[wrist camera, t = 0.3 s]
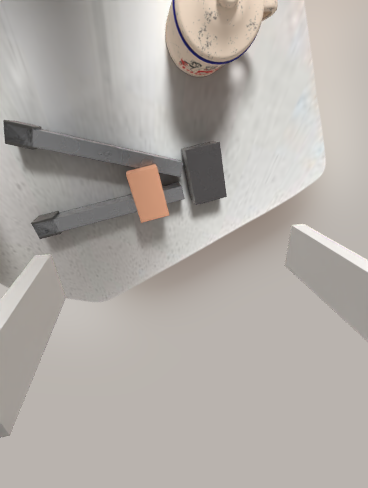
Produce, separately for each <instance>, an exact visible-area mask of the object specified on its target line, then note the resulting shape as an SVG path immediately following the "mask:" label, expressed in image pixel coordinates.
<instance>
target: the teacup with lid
mask: <svg viewBox="0 0 368 488" xmlns="http://www.w3.org/2000/svg"><path fill="white" fill-rule="evenodd" d="M276 10H277V0H172V2H171V6H170V9H169V13H168V16H167V21H166V29H165V34H166V43H167V47H168V50H169V53H170V55H171V57H172V59H173V61H174V62H175V64H176V65H177V66H178V67H179V68H180V69H181V70H182V71H183V72H185V73H187V74H189V75H191V76H195V77H203V76H207V75H210V74H212V73H214V72H215V71H217V70H218V69H219V68H221V67H222V66H223V65H225V64H226V63H229V62H232V61H234V60H236V59H237V58H239V57H240V56H241V55H243V54H244V53H245V52H246V51H247V49H248V48H249V47H250V46H251V44H252V43H253V41H254V39H255V37H256V35H257V33H258V31H259V28H260V25H261V21H263V20H265V19H267V18H268V17H270V16H271V15H273V14H274V13H275V11H276Z"/></svg>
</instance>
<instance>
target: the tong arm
mask: <svg viewBox="0 0 368 488" xmlns="http://www.w3.org/2000/svg"><path fill="white" fill-rule="evenodd" d="M4 134H5V144H9V145H14V146H19V147H24V148H29V149H37V148H42V149H46V150H51V151H56V152H61V153H66V154H71V155H76V156H81V157H86V158H90V159H95V160H100V161H105V162H110V163H115V164H120V165H125V166H130V167H134V168H141V167H145V166H149V165H153V164H156V166H157V169H158V172H159V173H164V174H169V175H174V176H178V177H181V172H182V168H183V162H182V161H180V160H176V159H172V158H168V157H163V156H159V155H154V154H150V153H145V152H141V151H136V150H132V149H127V148H123V147H118V146H114V145H109V144H105V143H100V142H96V141H91V140H87V139H82V138H78V137H74V136H69V135H65V134H60V133H56V132H51V131H47V130H42V129H41V127H40V126H35V125H31V124H27V123H22V122H18V121H10V120H4Z"/></svg>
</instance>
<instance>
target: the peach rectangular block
mask: <svg viewBox="0 0 368 488" xmlns="http://www.w3.org/2000/svg"><path fill="white" fill-rule="evenodd" d="M126 176H127V180H128V183H129V186H130V189H131V192H132V195H133V198H134V201H135V205H136V208H137V211H138V214H139V217H140V220H141V223H142V222H146V221H150V220H154V219H157V218H161V217H165V216H169V212H168V208H167V204H166V200H165V196H164V192H163V188H162V184H161V180H160V176H159V172H158V169H157V166H156V164H153V165H149V166H145V167H141V168H137V169H133V170H129V171H127V172H126Z"/></svg>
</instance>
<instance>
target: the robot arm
mask: <svg viewBox="0 0 368 488" xmlns="http://www.w3.org/2000/svg"><path fill="white" fill-rule="evenodd" d="M285 266H286V267H287V268H288V269H289V270H290V271H291V272H292V273H293V274H294V275H296V276H297V277H298V278H299V279H300V280H301V281H302V282H303V283H304V284H305V285H306V286H308V287H309V288H310V289H311V290H312V291H313V292H314V293H315V294H316V295H317V296H318V297H319V298H320V299H322V300H323V301H324V302H325V303H326V304H327V305H328V306H329V307H330V308H331V309H332V310H334V311H335V312H336V313H337V314H338V315H339V316H340V317H341V318H342V319H343V320H344V321H346V322H347V323H348V324H349V325H350V326H351V327H352V328H353V329H354V330H355V331H356V332H358V333H359V334H360V335H361V336H362V337H363V338H364V339H365V340H366V341H367V342H368V260H367V259H365V258H363V257H361V256H359V255H358V254H356V253H354V252H353V251H351V250H349V249H347V248H345V247H344V246H342V245H340V244H338V243H337V242H335V241H333V240H331V239H330V238H328V237H326V236H324V235H322V234H321V233H319V232H317V231H315V230H314V229H312V228H310V227H308V226H307V225H304V224H298V225H292V227H291V232H290V238H289V243H288V249H287V255H286V261H285ZM65 298H66V296H65V293H64V290H63V287H62V284H61V281H60V278H59V275H58V272H57V269H56V266H55V263H54V260H53V257H52V254H44V255H36V256H34V257H33V258H32V260H31V261H30V262H29V264H28V265H27V266H26V267H25V269H24V270H23V271H22V273H21V274H20V275H19V276H18V278H17V279H16V280H15V281H14V283H13V284H12V285H11V287H10V288H9V289H8V290H7V292H6V293H5V294H4V295H3V297H2V298H1V299H0V437H5V436H9V435H10V434H11V431H12V429H13V426H14V424H15V421H16V419H17V416H18V414H19V411H20V409H21V406H22V404H23V402H24V399H25V397H26V394H27V392H28V389H29V387H30V384H31V382H32V380H33V377H34V375H35V372H36V370H37V367H38V365H39V362H40V360H41V357H42V355H43V352H44V350H45V348H46V345H47V343H48V340H49V338H50V335H51V333H52V330H53V328H54V325H55V323H56V321H57V318H58V316H59V313H60V311H61V308H62V306H63V303H64V301H65Z"/></svg>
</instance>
